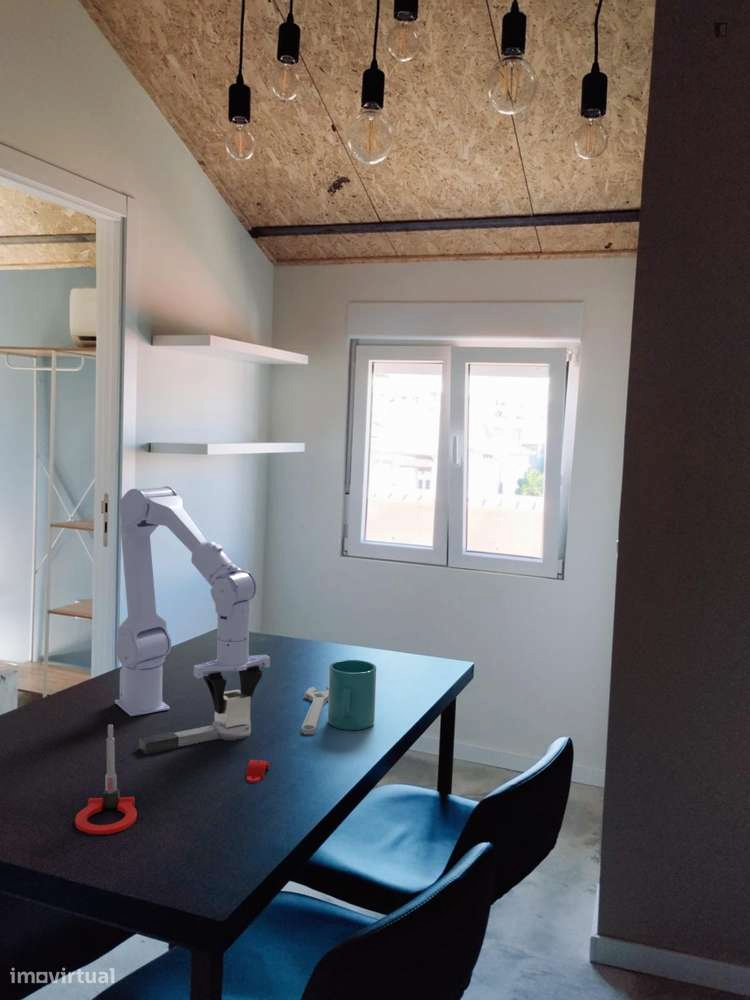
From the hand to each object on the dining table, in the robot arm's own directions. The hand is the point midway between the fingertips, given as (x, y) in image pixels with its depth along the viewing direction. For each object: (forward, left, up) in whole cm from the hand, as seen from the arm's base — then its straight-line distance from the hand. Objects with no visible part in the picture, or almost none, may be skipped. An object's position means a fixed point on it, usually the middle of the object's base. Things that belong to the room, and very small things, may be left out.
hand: (231, 709), depth 157 cm
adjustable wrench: (-2, +19, -5) cm, 20 cm away
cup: (+8, +21, -5) cm, 23 cm away
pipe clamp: (+18, -4, -5) cm, 19 cm away
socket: (0, 0, -2) cm, 2 cm away
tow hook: (+21, -30, -5) cm, 37 cm away
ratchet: (0, -7, -5) cm, 8 cm away
